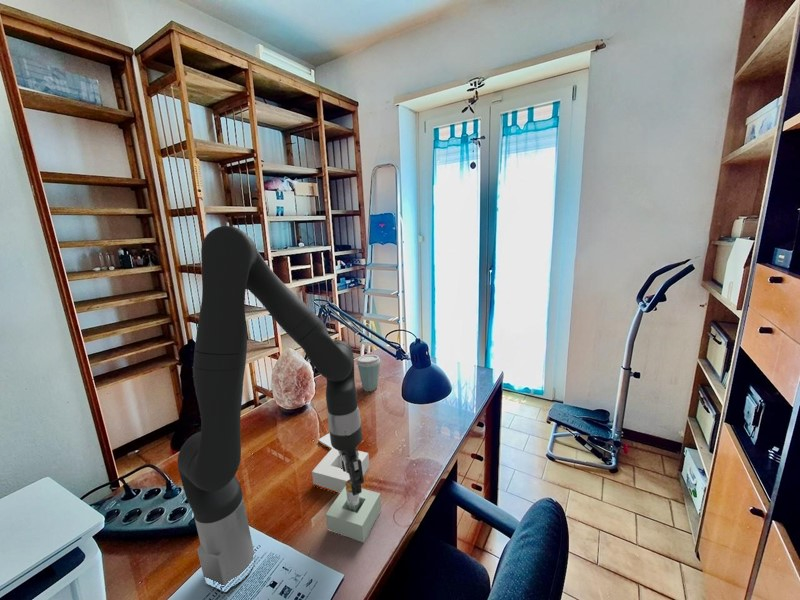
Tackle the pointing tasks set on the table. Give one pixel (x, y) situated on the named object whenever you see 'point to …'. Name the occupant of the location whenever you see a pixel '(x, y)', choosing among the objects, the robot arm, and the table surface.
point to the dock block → (335, 470)
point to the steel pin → (352, 499)
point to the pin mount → (354, 515)
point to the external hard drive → (326, 440)
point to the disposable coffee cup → (369, 371)
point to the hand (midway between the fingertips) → (351, 481)
